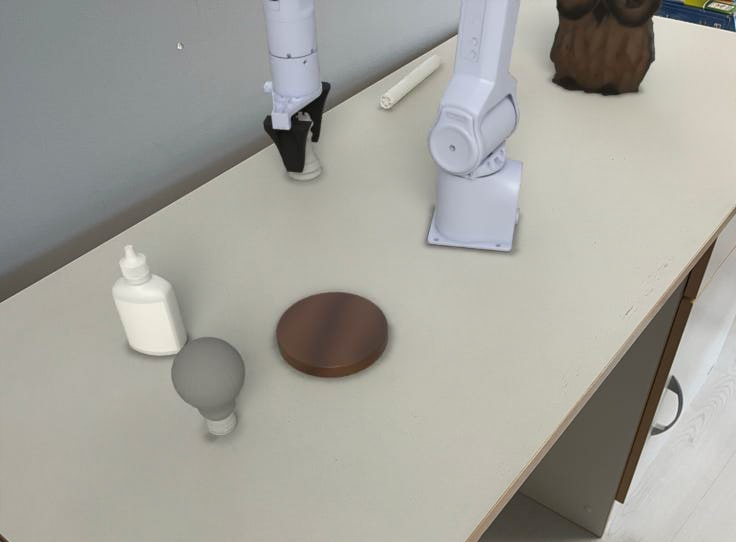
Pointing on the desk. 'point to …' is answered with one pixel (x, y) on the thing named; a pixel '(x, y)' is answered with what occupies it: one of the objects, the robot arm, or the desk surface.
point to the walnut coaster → (332, 334)
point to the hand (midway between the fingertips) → (303, 155)
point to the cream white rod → (410, 81)
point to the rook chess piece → (308, 157)
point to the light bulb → (210, 380)
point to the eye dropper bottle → (147, 308)
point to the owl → (603, 45)
